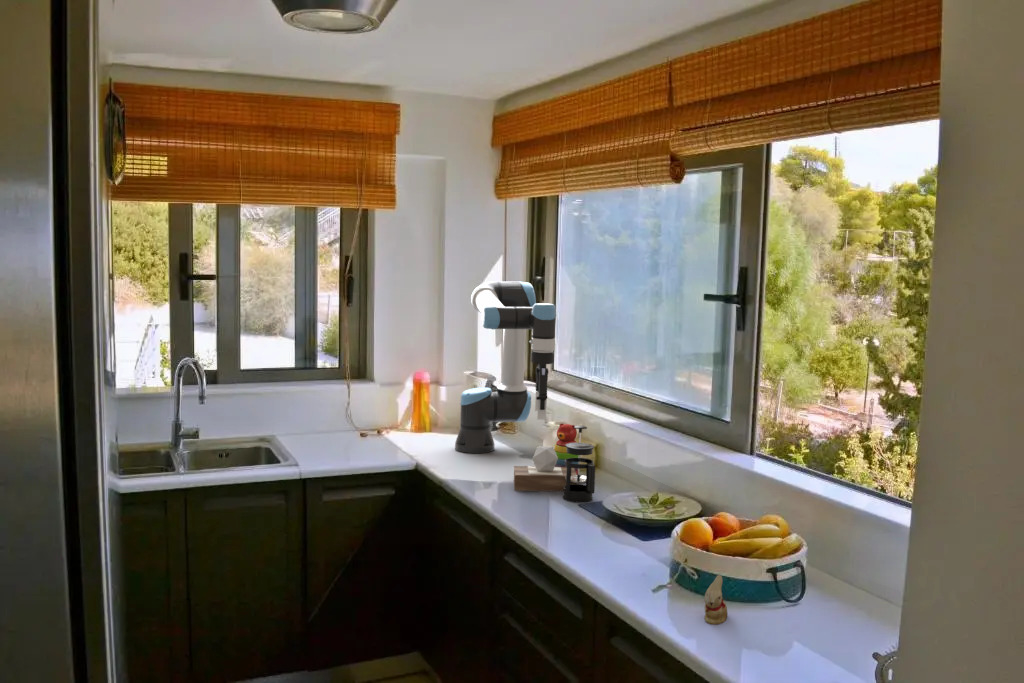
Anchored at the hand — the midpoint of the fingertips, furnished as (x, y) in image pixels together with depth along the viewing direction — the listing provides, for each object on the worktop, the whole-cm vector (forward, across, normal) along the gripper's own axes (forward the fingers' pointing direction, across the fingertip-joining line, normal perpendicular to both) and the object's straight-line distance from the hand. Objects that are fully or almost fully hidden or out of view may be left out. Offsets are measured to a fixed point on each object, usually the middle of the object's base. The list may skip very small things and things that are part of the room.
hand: (540, 415), depth 297 cm
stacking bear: (+24, -12, +10) cm, 28 cm away
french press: (+23, +17, +12) cm, 31 cm away
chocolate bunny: (+22, +107, +32) cm, 114 cm away
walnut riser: (+23, +3, +2) cm, 23 cm away
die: (+18, +3, +2) cm, 18 cm away
